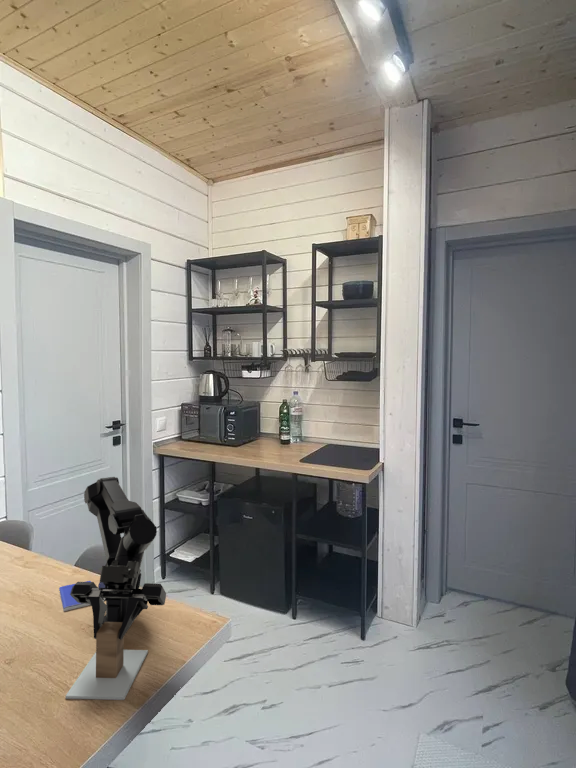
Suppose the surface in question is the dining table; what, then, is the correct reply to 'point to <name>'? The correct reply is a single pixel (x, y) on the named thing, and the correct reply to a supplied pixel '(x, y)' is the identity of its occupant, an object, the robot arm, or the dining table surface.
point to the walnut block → (109, 650)
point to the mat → (107, 679)
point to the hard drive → (69, 598)
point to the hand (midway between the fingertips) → (107, 638)
